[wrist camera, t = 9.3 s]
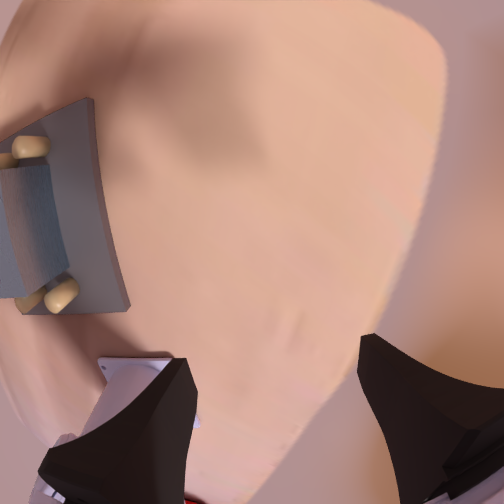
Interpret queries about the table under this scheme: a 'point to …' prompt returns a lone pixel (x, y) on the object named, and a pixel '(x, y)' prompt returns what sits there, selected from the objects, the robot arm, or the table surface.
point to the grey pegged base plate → (72, 213)
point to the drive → (28, 231)
